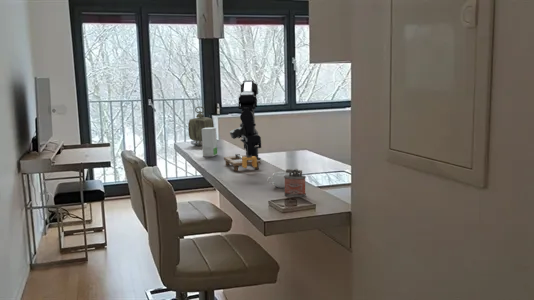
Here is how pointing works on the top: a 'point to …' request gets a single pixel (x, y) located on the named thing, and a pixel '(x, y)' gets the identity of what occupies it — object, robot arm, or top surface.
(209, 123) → the tabletop clock
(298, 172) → the lighter
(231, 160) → the wooden frame with rod
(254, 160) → the yellow block
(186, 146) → the top surface
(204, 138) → the skincare box
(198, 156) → the top surface
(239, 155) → the silver metal rod
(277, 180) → the teacup
